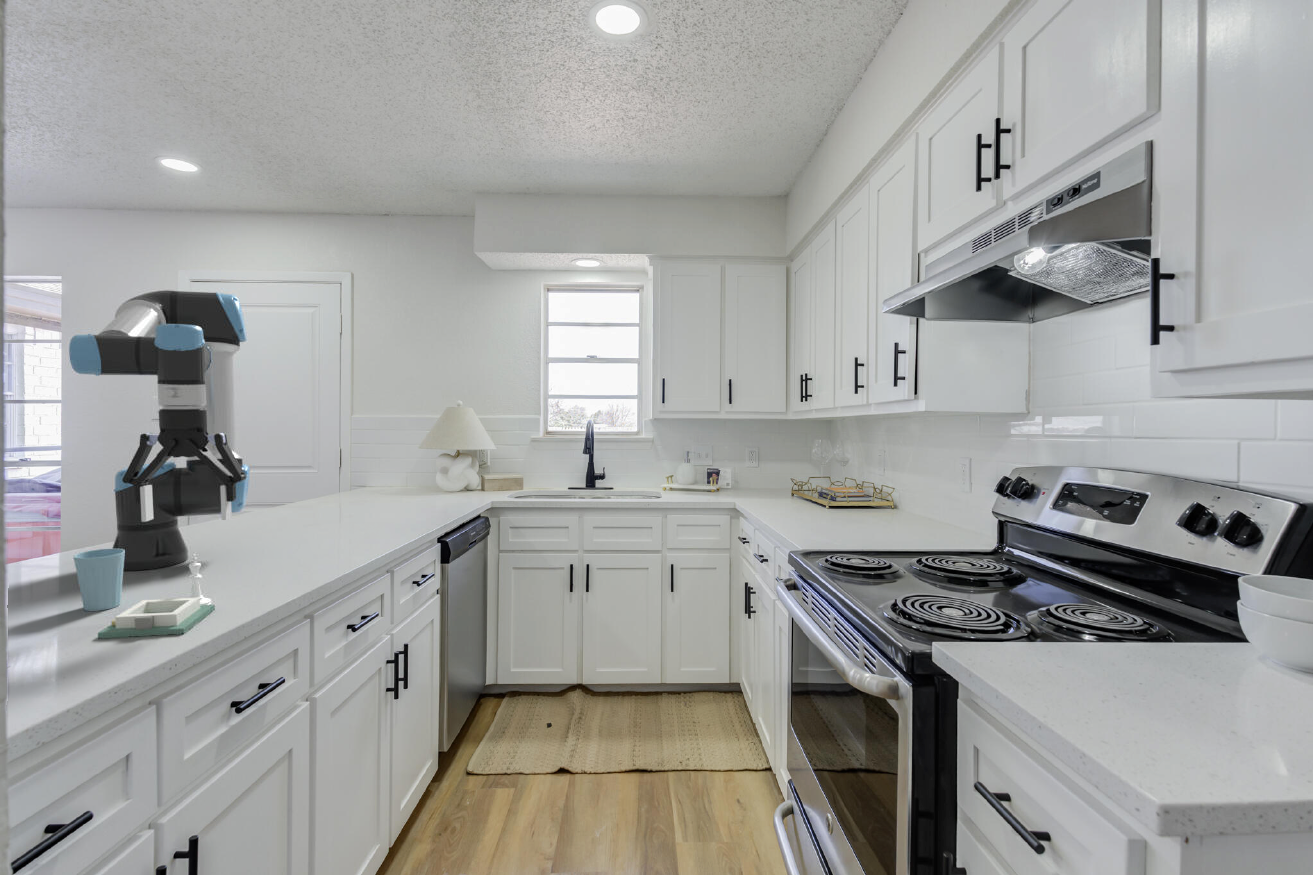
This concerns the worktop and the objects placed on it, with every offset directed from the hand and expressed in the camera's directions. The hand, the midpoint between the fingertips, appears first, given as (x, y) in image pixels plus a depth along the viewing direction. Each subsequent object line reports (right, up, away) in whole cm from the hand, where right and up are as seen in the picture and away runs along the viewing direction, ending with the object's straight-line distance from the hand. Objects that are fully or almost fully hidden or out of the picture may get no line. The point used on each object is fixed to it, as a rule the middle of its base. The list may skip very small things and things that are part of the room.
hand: (187, 519), depth 135 cm
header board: (0, -18, -8) cm, 19 cm away
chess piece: (0, -17, +2) cm, 17 cm away
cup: (-17, -17, +1) cm, 24 cm away
